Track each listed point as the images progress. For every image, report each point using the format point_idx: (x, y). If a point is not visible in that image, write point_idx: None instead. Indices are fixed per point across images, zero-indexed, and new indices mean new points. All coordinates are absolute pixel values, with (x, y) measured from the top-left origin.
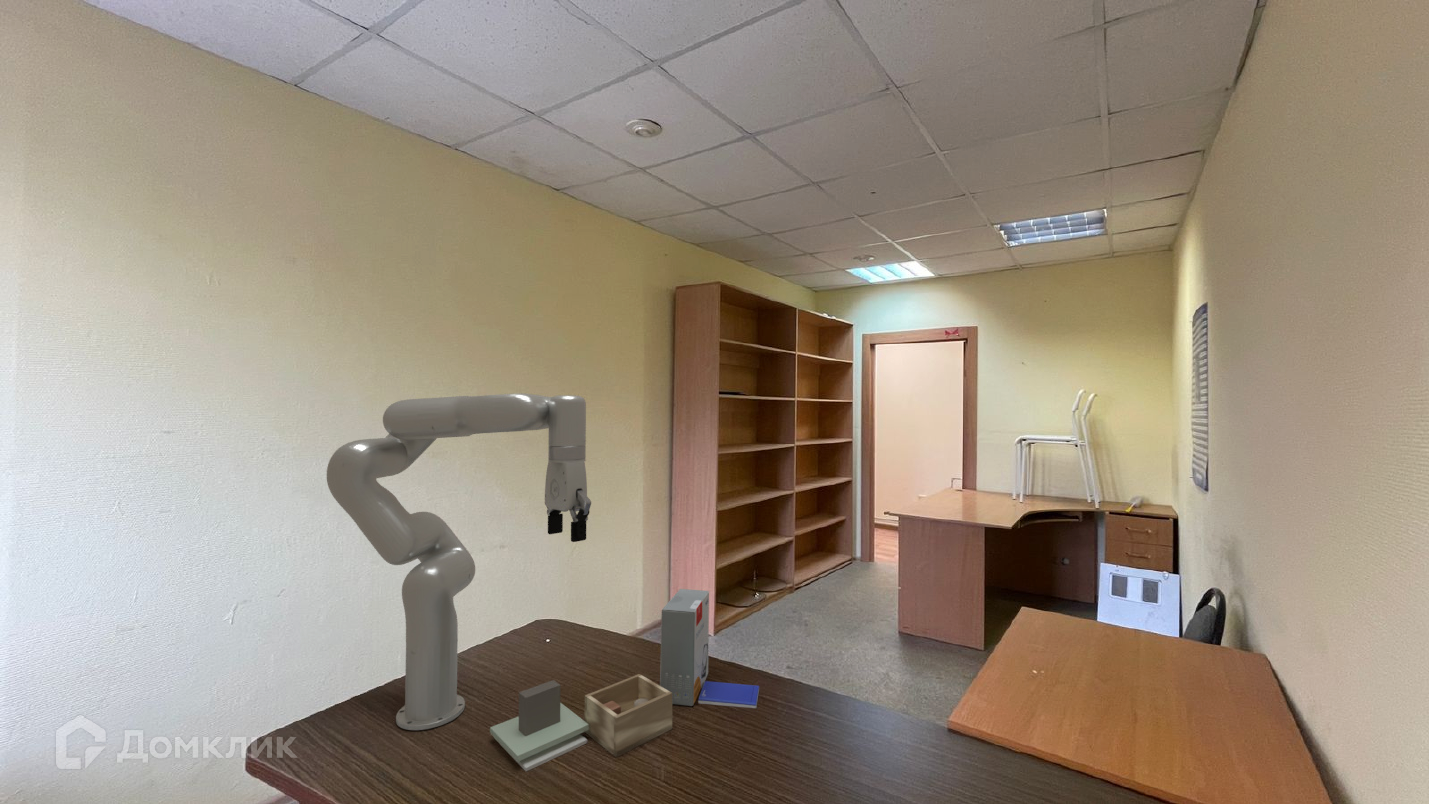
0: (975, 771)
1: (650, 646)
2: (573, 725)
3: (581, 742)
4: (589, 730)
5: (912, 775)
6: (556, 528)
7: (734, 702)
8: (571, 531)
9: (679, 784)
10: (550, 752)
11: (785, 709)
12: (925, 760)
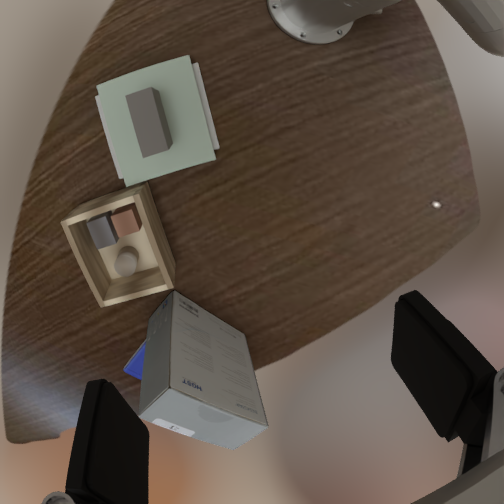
0: (20, 418)
1: (334, 322)
2: (133, 166)
3: (117, 171)
4: (133, 186)
5: (17, 394)
6: (407, 353)
7: (134, 356)
8: (84, 429)
9: (22, 252)
10: None
11: None
12: (31, 409)
